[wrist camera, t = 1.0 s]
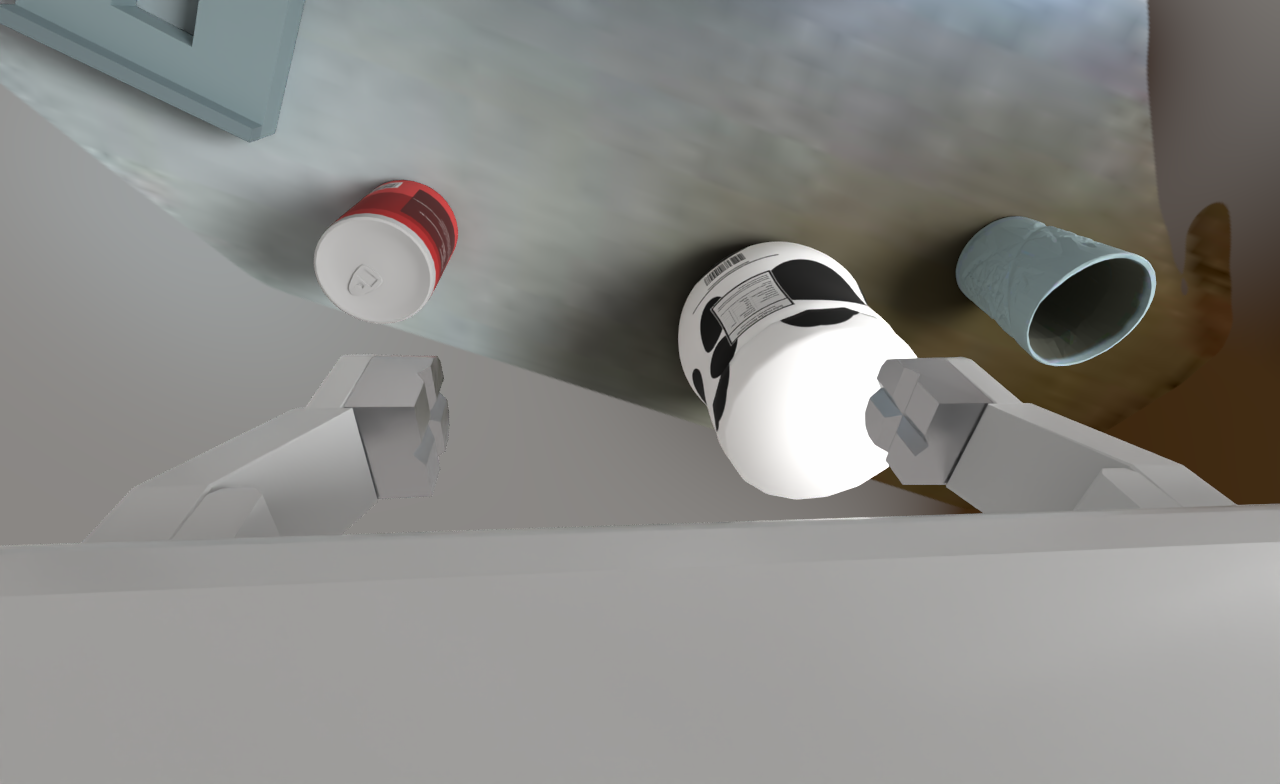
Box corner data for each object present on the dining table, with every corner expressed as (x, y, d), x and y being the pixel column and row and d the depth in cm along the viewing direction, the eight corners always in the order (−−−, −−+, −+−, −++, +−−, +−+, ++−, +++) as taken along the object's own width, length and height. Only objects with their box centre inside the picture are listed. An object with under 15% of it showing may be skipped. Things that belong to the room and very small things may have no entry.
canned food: (349, 240, 47) (296, 292, 38) (385, 156, 44) (336, 191, 35) (435, 285, 50) (406, 343, 41) (475, 210, 47) (452, 255, 37)
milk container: (798, 401, 62) (871, 520, 47) (650, 373, 57) (678, 495, 43) (873, 254, 53) (993, 344, 38) (705, 209, 49) (765, 290, 34)
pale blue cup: (1068, 218, 53) (1184, 263, 43) (1011, 314, 58) (1103, 373, 48) (977, 201, 51) (1077, 244, 41) (927, 301, 56) (1004, 361, 46)
